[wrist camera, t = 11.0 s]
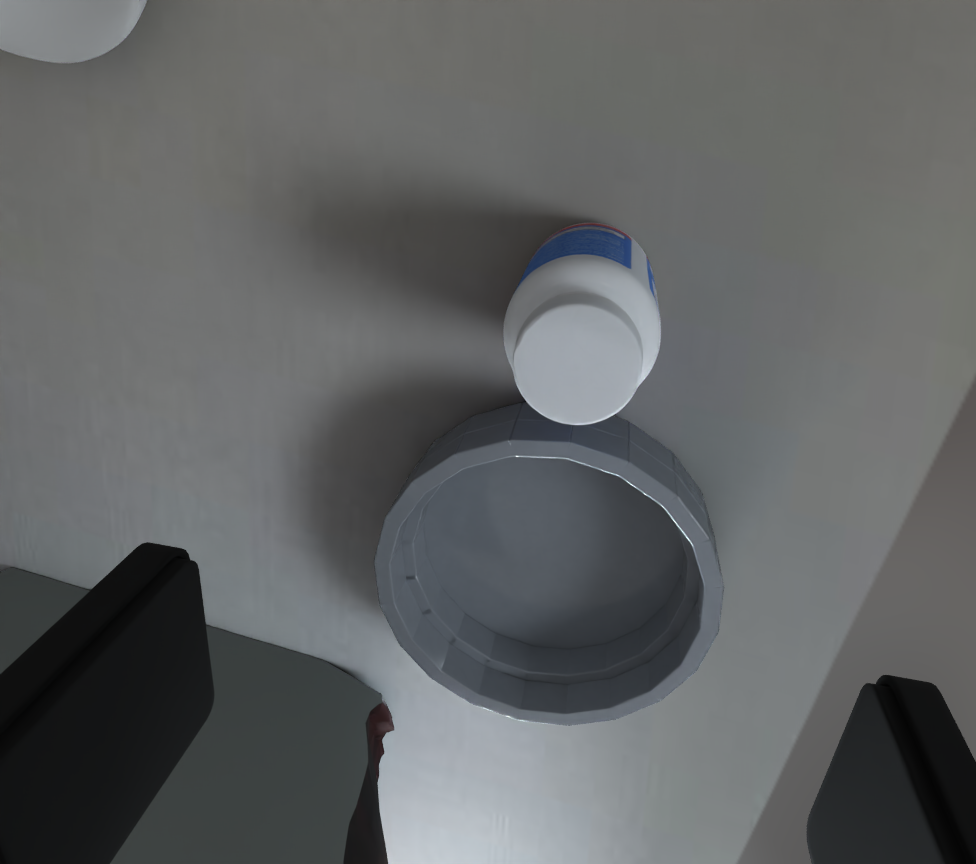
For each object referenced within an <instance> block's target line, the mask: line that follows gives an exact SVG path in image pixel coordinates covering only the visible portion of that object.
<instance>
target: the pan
mask: <svg viewBox="0 0 976 864" xmlns="http://www.w3.org/2000/svg"><path fill="white" fill-rule="evenodd" d="M374 567H375V575H376V582H377V590H378V598H379V604H380V607H381V609H382V611H383V613H384V615H385V617H386V619H387V621H388V623H389V625H390V627H391V629H392V631H393V633H394V635H395V637H396V639H397V641H398V643H399V644H400V646H401V647H402V648H403V649H404V650H405V651H406V652H407V653H408V654H409V655H410V656H411V658H412V659H413V660H414V661H415V662H416V663H417V664H418V665H419V666H420V667H421V668H422V669H423V670H424V671H425V672H426V674H427V675H428V676H429V677H430V678H432V679H433V680H435V681H436V682H438V683H439V684H441V685H442V686H444V687H446V688H447V689H449V690H450V691H452V692H453V693H455V694H457V695H458V696H460V697H461V698H463V699H464V700H466V701H468V702H469V703H471V704H473V705H476V706H479V707H482V708H485V709H488V710H491V711H493V712H496V713H499V714H502V715H505V716H508V717H511V718H514V719H516V720H518V719H519V720H520V721H529V722H539V723H548V724H557V725H566V726H567V725H568V726H570V725H578V724H586V723H594V722H602V721H610V720H616V719H619V718H621V717H624V716H626V715H628V714H631V713H633V712H636V711H638V710H641V709H643V708H645V707H648V706H650V705H653V704H655V703H658V702H660V700H663V699H664V698H665V697H666V696H668V695H669V694H670V693H671V692H672V691H674V690H675V689H676V688H677V687H678V686H680V685H681V684H682V683H683V682H684V681H686V680H687V679H688V678H689V677H690V676H692V675H693V674H694V673H695V671H697V670H698V668H699V666H700V664H701V663H702V661H703V659H704V657H705V656H706V654H707V652H708V650H709V649H710V647H711V645H712V643H713V641H714V640H715V638H716V636H717V634H718V632H719V626H720V617H721V609H722V600H723V592H724V585H723V579H722V573H721V568H720V563H719V557H718V552H717V546H716V541H715V536H714V532H713V528H712V525H711V521H710V518H709V514H708V511H707V507H706V504H705V500H704V497H703V494H702V492H701V490H700V489H699V487H698V486H697V484H696V483H695V482H694V480H693V479H692V478H691V476H690V475H689V474H688V472H687V471H686V470H685V468H684V467H683V465H682V464H681V463H680V461H679V460H678V459H677V457H676V456H675V455H674V453H672V452H671V451H670V450H669V449H667V448H666V447H665V446H663V445H662V444H660V443H659V442H658V441H656V440H655V439H653V438H652V437H650V436H649V435H648V434H646V433H645V432H643V431H642V430H641V429H639V428H638V427H636V426H635V425H633V424H632V423H631V422H628V421H626V420H623V419H620V418H617V417H614V416H611V417H609V418H607V419H605V420H602V421H599V422H596V423H592V424H586V425H571V424H564V423H560V422H557V421H553V420H551V419H549V418H547V417H545V416H543V415H541V414H540V413H539V412H537V411H536V410H535V409H533V408H532V407H531V406H530V405H529V404H528V403H526V402H524V403H518V404H514V405H510V406H507V407H503V408H499V409H496V410H492V411H489V412H485V413H481V414H478V415H474V416H472V417H470V418H469V419H467V420H466V421H464V422H463V423H461V424H460V425H458V426H457V427H455V428H454V429H452V430H451V431H449V432H448V433H446V434H445V435H443V436H442V437H440V438H439V439H437V440H436V441H434V443H432V445H431V446H430V447H429V449H428V450H427V452H426V453H425V454H424V456H423V457H422V458H421V460H420V461H419V463H418V464H417V465H416V467H415V468H414V470H413V471H412V472H411V474H410V475H409V476H408V478H407V480H406V482H405V483H404V485H403V487H402V489H401V490H400V492H399V494H398V496H397V497H396V499H395V501H394V503H393V504H392V506H391V508H390V509H389V511H388V513H387V515H386V516H385V519H384V522H383V526H382V530H381V534H380V538H379V542H378V546H377V550H376V554H375V558H374Z"/></svg>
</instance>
